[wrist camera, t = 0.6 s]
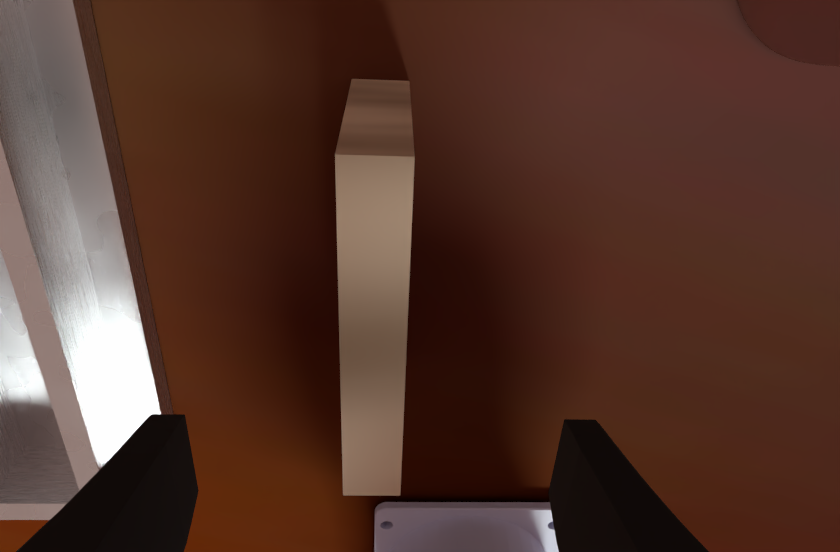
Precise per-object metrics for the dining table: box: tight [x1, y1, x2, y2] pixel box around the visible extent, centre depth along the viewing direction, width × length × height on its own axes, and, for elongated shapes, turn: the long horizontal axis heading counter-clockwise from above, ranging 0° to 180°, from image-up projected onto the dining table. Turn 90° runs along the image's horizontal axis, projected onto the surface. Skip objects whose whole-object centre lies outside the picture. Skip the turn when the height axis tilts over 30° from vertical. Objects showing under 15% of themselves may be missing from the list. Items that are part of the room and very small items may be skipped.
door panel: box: [335, 79, 415, 496], centre depth 18 cm, size 10×2×6 cm, turn 177°
